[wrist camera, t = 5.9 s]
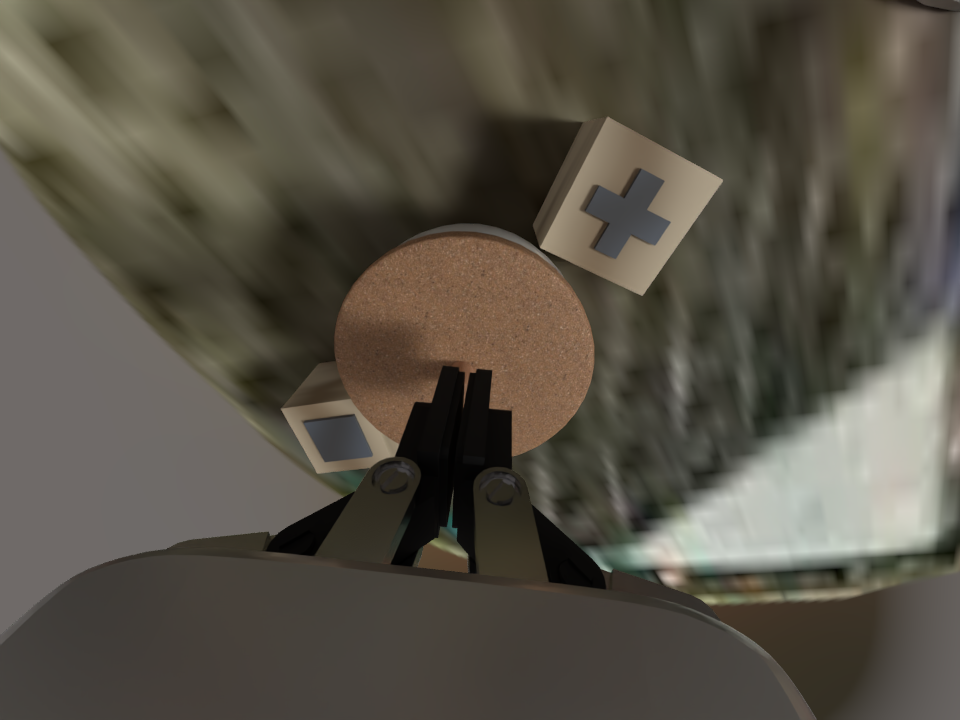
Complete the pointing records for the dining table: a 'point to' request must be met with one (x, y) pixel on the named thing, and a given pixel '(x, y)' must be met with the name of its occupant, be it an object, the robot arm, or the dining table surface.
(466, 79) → the dining table surface
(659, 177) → the marked cube 2
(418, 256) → the lidded jar
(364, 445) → the marked cube 1
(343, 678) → the robot arm
